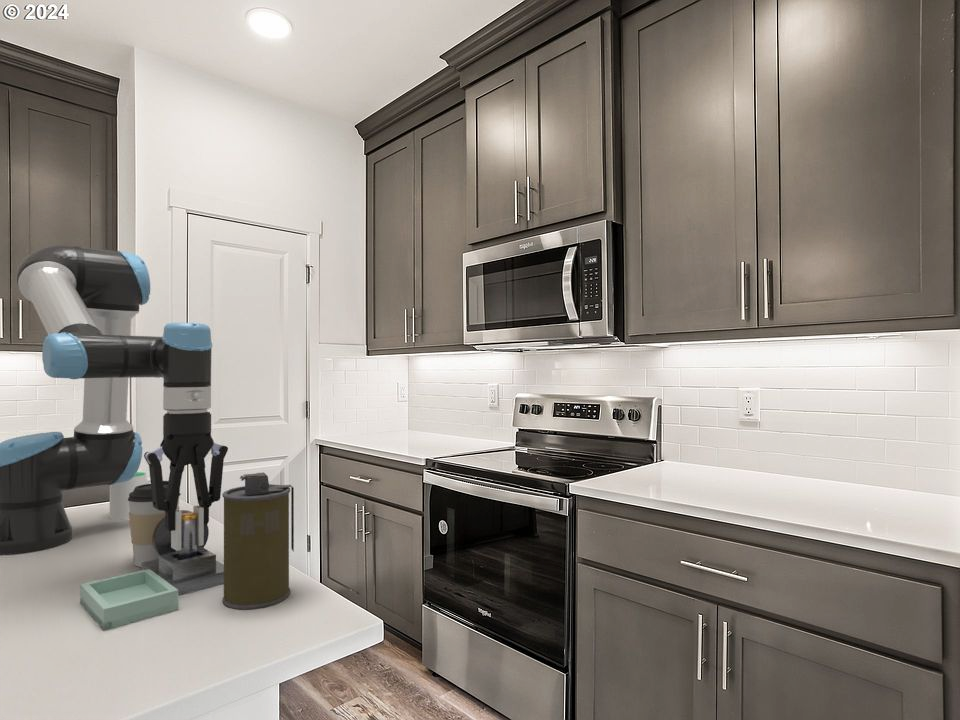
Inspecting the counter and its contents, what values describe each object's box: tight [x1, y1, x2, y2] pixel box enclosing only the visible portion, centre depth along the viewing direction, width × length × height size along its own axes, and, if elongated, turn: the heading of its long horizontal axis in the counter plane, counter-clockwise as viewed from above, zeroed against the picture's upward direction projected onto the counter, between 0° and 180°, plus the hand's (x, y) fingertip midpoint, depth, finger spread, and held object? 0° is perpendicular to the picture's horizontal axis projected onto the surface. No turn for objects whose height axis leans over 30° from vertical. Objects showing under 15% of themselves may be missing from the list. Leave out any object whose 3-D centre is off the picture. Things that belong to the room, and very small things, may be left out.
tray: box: [79, 569, 179, 631], centre depth 92 cm, size 14×10×3 cm
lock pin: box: [178, 511, 197, 560], centre depth 102 cm, size 3×3×10 cm
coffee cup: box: [128, 480, 182, 568], centre depth 114 cm, size 9×9×15 cm
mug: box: [109, 471, 151, 521], centre depth 151 cm, size 12×8×10 cm, turn 135°
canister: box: [221, 472, 295, 610], centre depth 96 cm, size 11×10×20 cm
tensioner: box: [140, 509, 224, 596], centre depth 105 cm, size 16×10×11 cm, turn 46°
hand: (187, 545), depth 102 cm, fingers closed on lock pin, 3 cm apart
